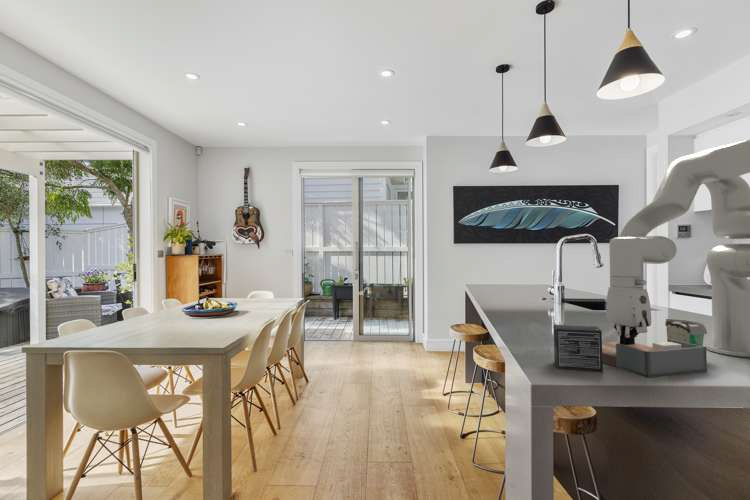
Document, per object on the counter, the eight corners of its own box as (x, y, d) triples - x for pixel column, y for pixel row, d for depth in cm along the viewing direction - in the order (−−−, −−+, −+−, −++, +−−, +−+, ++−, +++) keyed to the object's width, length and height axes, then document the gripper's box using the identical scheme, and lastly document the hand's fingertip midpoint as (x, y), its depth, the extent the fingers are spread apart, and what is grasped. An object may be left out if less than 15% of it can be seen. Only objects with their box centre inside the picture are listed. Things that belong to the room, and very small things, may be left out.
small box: (597, 365, 99) (597, 325, 99) (603, 372, 93) (603, 330, 93) (553, 361, 102) (553, 323, 102) (556, 368, 96) (556, 328, 96)
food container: (719, 366, 96) (718, 327, 96) (692, 365, 97) (691, 327, 97) (689, 353, 108) (689, 319, 108) (665, 352, 110) (665, 318, 110)
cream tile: (670, 341, 98) (681, 344, 95) (670, 362, 98) (681, 366, 95) (652, 342, 97) (663, 345, 94) (652, 364, 97) (663, 367, 94)
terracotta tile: (636, 353, 99) (640, 343, 98) (654, 367, 94) (659, 357, 93) (619, 354, 98) (623, 345, 97) (636, 368, 93) (640, 358, 92)
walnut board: (628, 348, 114) (628, 340, 114) (670, 360, 101) (670, 351, 101) (578, 353, 110) (577, 344, 110) (615, 366, 97) (615, 356, 97)
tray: (671, 361, 101) (670, 339, 101) (706, 371, 93) (706, 347, 93) (616, 366, 97) (615, 343, 97) (647, 377, 88) (647, 352, 89)
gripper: (664, 284, 94) (665, 358, 94) (614, 280, 108) (615, 343, 108) (640, 285, 92) (641, 360, 92) (592, 281, 107) (593, 345, 106)
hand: (627, 351), depth 100 cm, fingers closed
